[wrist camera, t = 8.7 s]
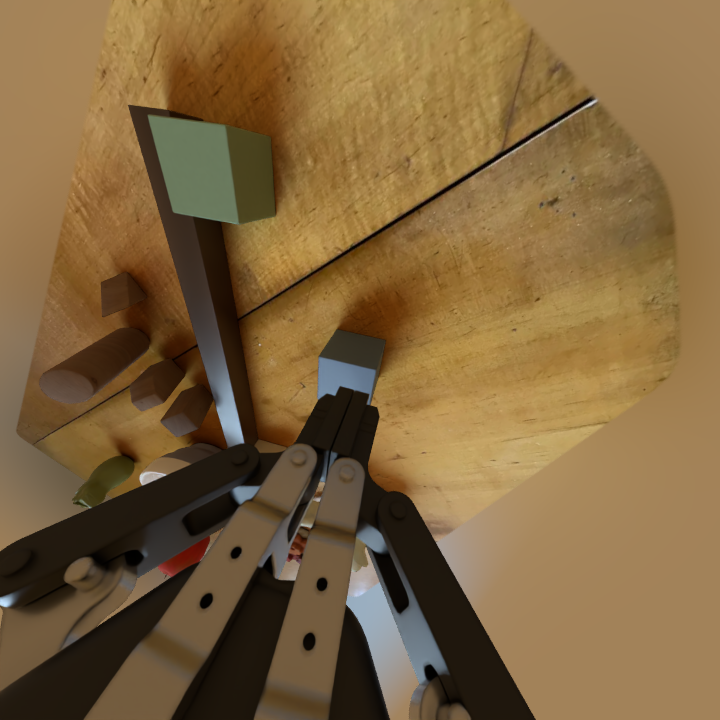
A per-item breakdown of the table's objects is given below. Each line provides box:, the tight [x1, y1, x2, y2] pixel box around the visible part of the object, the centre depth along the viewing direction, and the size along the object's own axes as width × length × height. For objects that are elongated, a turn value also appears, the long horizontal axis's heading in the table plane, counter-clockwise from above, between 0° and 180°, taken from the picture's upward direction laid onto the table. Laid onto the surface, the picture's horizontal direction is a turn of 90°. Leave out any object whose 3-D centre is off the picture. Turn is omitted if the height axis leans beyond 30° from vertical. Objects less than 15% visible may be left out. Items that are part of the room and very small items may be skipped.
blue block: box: [318, 329, 386, 405], centre depth 25 cm, size 5×5×5 cm
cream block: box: [254, 439, 287, 453], centre depth 39 cm, size 5×5×5 cm
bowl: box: [140, 443, 222, 486], centre depth 44 cm, size 14×14×8 cm
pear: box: [72, 456, 135, 508], centre depth 52 cm, size 6×5×10 cm
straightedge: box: [128, 105, 258, 448], centre depth 29 cm, size 3×38×3 cm, turn 173°
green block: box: [148, 114, 276, 224], centre depth 18 cm, size 5×5×5 cm
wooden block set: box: [39, 272, 214, 437], centre depth 30 cm, size 18×9×10 cm, turn 19°
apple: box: [158, 536, 210, 577], centre depth 65 cm, size 10×10×12 cm
